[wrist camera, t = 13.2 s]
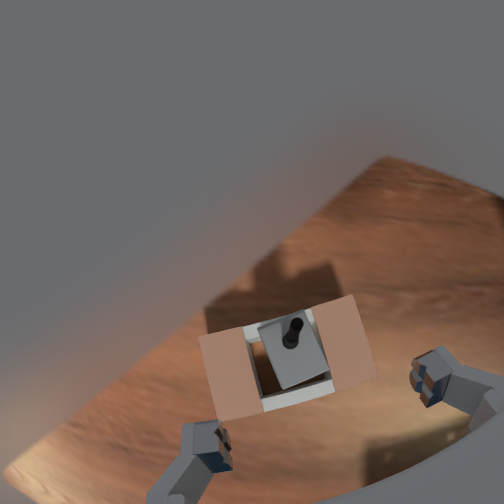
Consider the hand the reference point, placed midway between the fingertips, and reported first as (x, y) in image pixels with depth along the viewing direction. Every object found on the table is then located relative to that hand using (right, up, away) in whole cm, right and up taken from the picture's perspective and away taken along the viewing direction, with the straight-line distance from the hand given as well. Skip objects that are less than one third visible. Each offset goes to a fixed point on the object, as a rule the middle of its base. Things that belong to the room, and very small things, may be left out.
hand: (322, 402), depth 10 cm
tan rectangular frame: (+2, -8, +25) cm, 26 cm away
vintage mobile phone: (+2, -7, +25) cm, 26 cm away
